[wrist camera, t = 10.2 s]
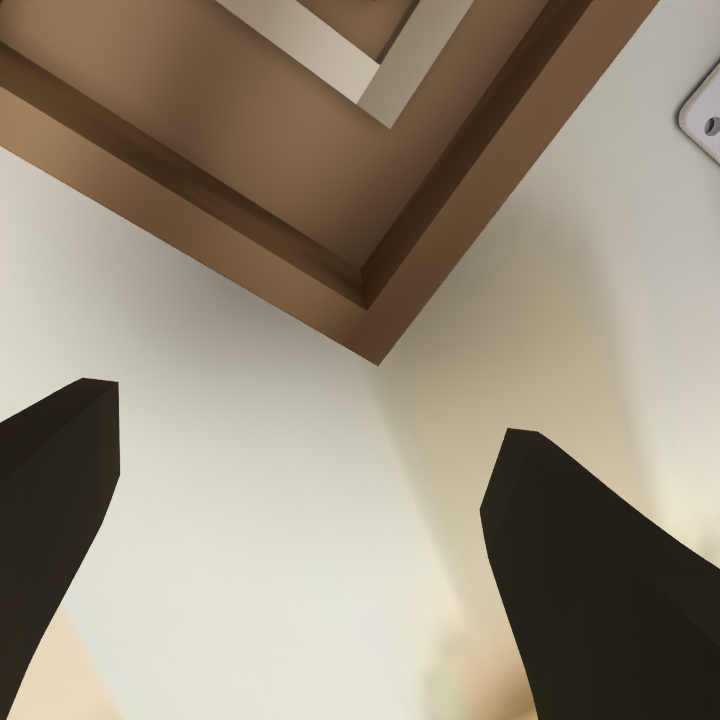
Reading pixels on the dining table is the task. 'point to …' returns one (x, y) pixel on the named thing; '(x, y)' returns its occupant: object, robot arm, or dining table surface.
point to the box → (305, 131)
